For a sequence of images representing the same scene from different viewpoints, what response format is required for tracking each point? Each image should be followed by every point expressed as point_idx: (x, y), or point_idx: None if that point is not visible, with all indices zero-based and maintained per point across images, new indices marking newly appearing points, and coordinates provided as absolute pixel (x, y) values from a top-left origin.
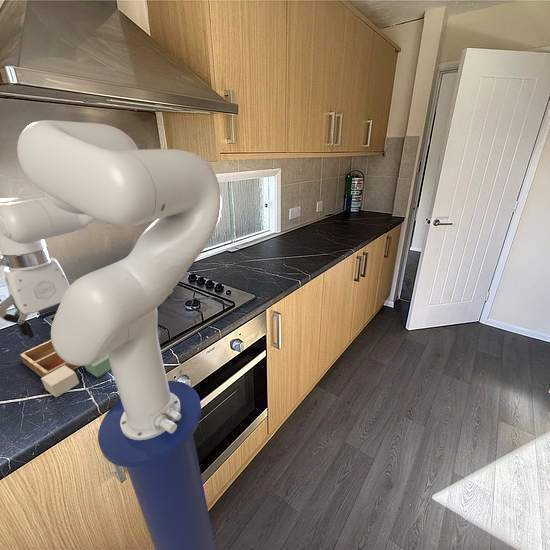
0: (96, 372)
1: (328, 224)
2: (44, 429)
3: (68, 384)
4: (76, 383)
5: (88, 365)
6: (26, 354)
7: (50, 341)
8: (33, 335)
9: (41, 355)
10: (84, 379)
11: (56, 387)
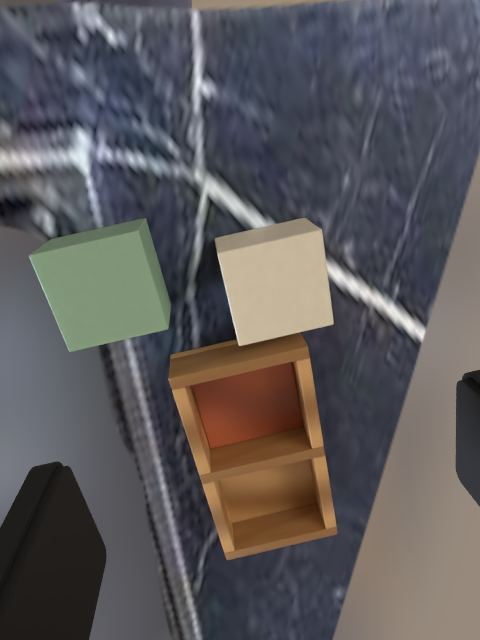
0: (140, 223)
1: None
2: (391, 46)
3: (255, 234)
4: (225, 237)
5: (156, 281)
6: (318, 524)
7: (236, 549)
8: (468, 381)
9: (275, 503)
10: (192, 249)
11: (302, 228)
